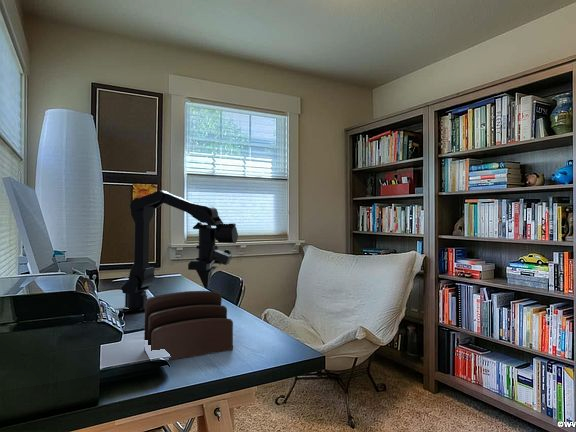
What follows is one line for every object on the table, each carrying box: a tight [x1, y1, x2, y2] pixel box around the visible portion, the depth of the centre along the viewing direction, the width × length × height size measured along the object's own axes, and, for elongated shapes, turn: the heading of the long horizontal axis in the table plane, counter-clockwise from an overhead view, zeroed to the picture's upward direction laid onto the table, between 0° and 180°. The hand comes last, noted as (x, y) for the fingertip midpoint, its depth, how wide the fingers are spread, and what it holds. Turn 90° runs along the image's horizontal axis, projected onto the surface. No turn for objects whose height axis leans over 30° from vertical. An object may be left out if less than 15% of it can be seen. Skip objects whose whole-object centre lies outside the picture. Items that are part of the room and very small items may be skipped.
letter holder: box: [143, 290, 234, 361], centre depth 93 cm, size 10×20×14 cm, turn 120°
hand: (206, 287), depth 129 cm, fingers closed
